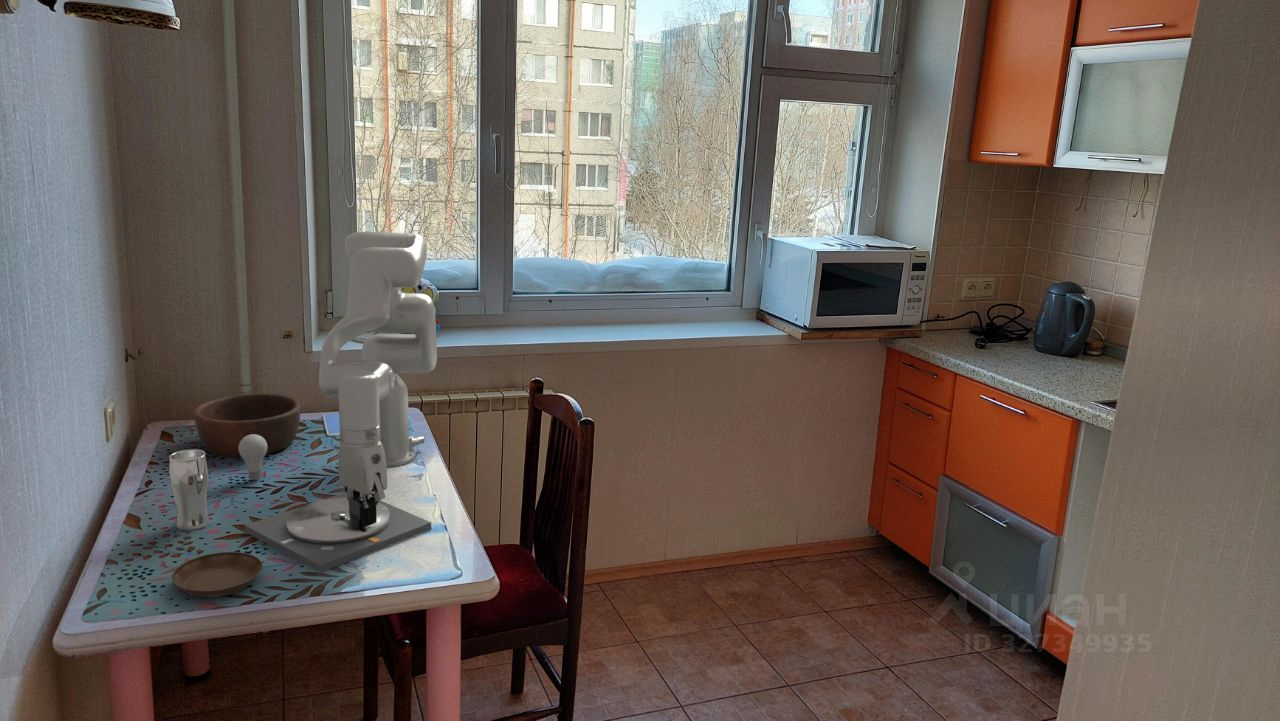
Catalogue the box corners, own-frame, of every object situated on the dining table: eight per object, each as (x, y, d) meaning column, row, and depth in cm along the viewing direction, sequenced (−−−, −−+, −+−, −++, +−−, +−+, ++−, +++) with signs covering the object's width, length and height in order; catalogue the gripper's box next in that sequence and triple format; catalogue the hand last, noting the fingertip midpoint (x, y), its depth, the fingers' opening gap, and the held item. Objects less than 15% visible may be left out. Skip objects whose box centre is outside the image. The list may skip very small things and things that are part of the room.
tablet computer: (322, 417, 259) (322, 413, 259) (368, 414, 264) (368, 409, 263) (327, 439, 242) (326, 434, 241) (376, 435, 246) (376, 430, 246)
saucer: (281, 575, 168) (280, 562, 167) (215, 611, 155) (214, 597, 154) (222, 558, 174) (221, 544, 173) (153, 591, 161) (152, 577, 160)
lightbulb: (275, 478, 212) (272, 433, 210) (254, 487, 207) (251, 441, 204) (255, 473, 215) (253, 429, 212) (234, 482, 209) (231, 436, 207)
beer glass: (175, 519, 189) (169, 450, 185) (212, 515, 191) (207, 447, 188) (173, 533, 183) (166, 462, 179) (211, 528, 185) (206, 458, 182)
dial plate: (355, 495, 204) (354, 488, 204) (431, 529, 189) (431, 521, 189) (245, 531, 184) (244, 524, 184) (320, 572, 169) (319, 564, 169)
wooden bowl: (301, 426, 249) (300, 390, 247) (303, 457, 227) (301, 417, 224) (200, 433, 241) (197, 396, 238) (191, 466, 218) (188, 425, 215)
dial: (268, 521, 185) (265, 488, 184) (355, 495, 200) (354, 464, 198) (319, 553, 173) (317, 518, 171) (409, 523, 187) (408, 490, 185)
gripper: (402, 439, 176) (404, 527, 180) (351, 421, 186) (354, 505, 190) (369, 448, 170) (372, 539, 175) (318, 429, 180) (322, 516, 184)
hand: (363, 521), depth 182 cm, fingers closed on dial, 3 cm apart
